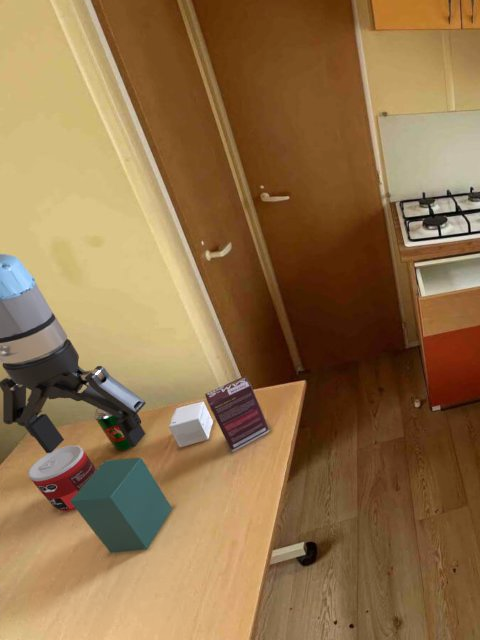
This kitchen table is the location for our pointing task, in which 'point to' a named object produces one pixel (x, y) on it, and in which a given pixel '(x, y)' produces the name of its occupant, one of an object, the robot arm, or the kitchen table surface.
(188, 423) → the product box
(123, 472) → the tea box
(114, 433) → the soda can
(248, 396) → the supplement box
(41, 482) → the canned food
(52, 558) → the kitchen table surface
